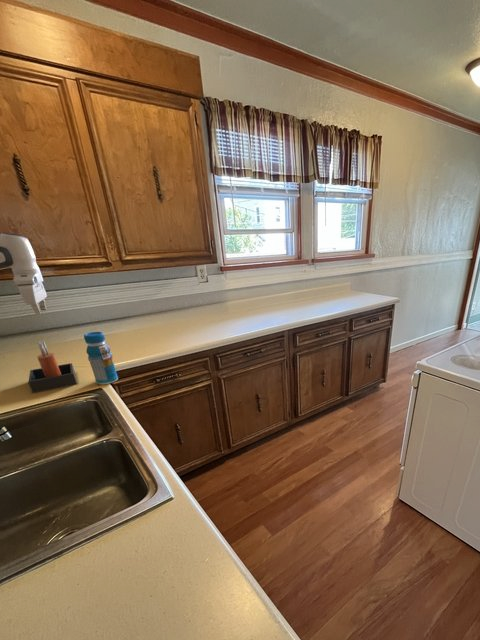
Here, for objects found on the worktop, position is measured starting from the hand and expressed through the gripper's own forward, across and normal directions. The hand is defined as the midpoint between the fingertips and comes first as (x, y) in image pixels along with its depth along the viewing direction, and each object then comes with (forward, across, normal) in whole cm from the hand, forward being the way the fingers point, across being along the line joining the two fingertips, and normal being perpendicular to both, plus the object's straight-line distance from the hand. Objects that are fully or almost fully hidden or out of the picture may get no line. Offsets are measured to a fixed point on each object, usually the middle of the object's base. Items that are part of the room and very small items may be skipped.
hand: (41, 312), depth 138 cm
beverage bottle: (+25, +27, +21) cm, 42 cm away
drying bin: (+25, +19, +1) cm, 32 cm away
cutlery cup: (+24, +19, +1) cm, 31 cm away
